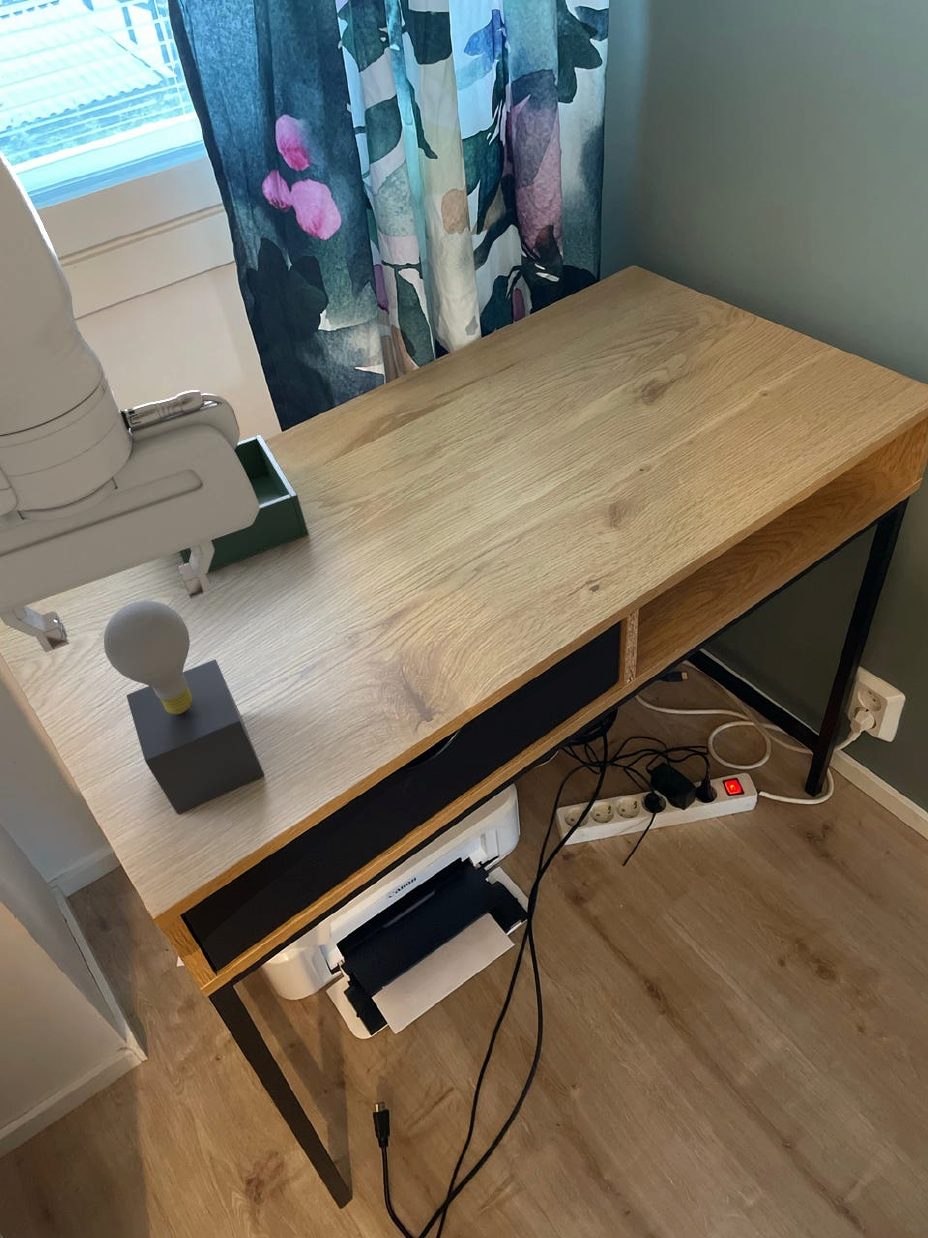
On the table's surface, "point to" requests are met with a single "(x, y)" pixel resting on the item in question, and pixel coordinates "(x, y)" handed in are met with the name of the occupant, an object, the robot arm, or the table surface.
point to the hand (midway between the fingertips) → (129, 615)
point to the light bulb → (151, 650)
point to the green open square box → (275, 515)
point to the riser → (195, 740)
